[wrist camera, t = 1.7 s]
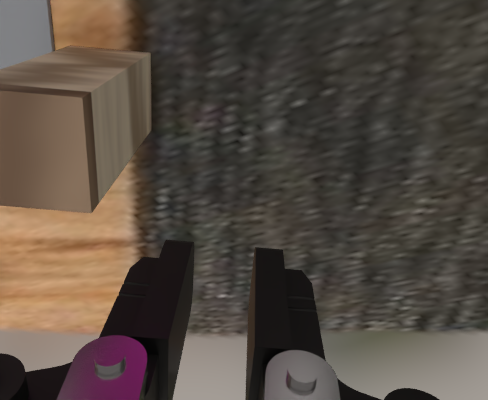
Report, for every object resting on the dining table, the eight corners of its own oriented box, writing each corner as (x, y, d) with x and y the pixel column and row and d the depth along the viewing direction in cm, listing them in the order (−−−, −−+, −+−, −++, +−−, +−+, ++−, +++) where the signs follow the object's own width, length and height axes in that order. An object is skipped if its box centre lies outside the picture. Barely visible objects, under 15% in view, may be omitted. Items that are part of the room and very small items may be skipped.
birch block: (150, 52, 28) (82, 97, 17) (151, 129, 30) (91, 213, 19) (70, 45, 28) (-50, 86, 17) (77, 123, 30) (-25, 203, 19)
